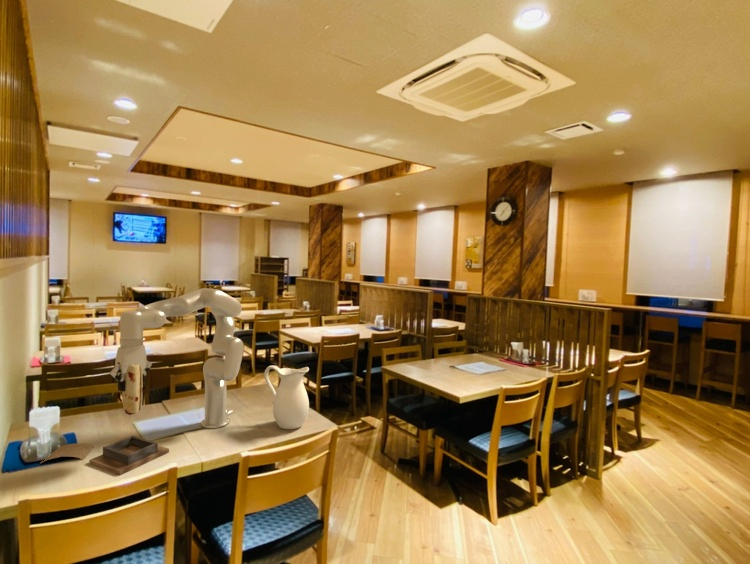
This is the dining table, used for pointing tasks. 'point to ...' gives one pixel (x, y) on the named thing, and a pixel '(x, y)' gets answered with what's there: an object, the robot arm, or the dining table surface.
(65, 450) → the brown curved panel
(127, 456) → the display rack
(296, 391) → the pitcher
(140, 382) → the food model
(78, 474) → the dining table surface
